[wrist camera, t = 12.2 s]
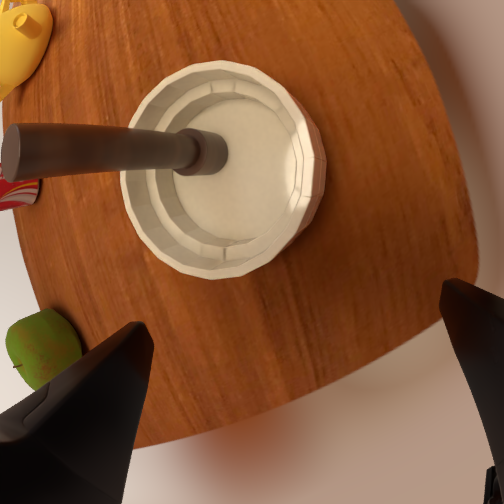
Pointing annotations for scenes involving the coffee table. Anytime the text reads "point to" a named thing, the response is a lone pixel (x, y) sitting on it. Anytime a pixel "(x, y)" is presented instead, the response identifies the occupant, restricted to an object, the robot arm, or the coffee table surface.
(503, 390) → the robot arm
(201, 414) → the coffee table surface
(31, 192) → the beverage can
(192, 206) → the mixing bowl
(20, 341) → the apple
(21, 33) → the teapot
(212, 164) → the brown pestle
